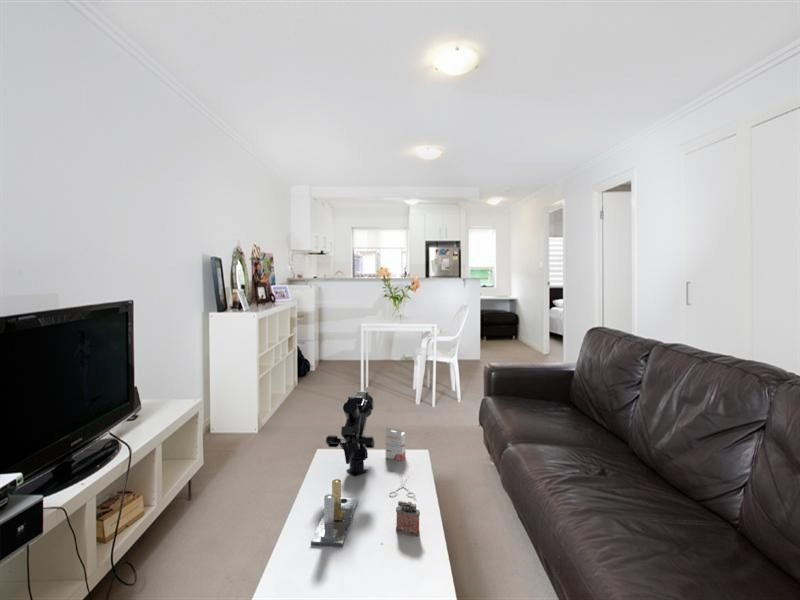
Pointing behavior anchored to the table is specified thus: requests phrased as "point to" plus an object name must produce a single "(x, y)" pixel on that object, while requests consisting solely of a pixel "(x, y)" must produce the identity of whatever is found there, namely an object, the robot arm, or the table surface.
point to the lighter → (407, 519)
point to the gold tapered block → (337, 499)
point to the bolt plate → (334, 523)
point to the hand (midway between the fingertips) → (347, 463)
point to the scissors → (404, 488)
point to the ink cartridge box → (395, 443)
